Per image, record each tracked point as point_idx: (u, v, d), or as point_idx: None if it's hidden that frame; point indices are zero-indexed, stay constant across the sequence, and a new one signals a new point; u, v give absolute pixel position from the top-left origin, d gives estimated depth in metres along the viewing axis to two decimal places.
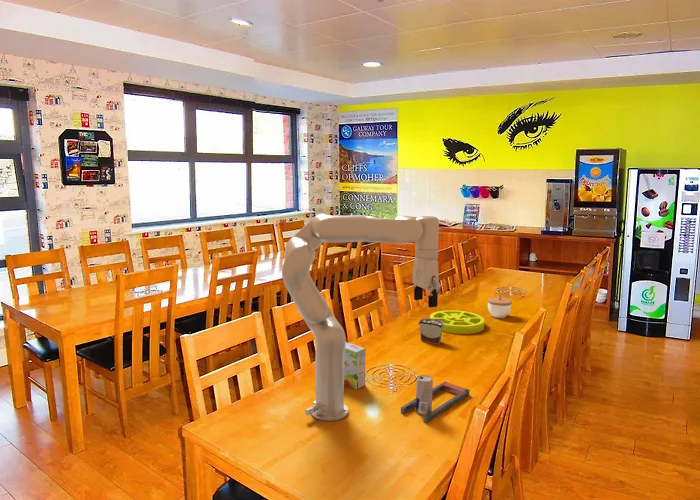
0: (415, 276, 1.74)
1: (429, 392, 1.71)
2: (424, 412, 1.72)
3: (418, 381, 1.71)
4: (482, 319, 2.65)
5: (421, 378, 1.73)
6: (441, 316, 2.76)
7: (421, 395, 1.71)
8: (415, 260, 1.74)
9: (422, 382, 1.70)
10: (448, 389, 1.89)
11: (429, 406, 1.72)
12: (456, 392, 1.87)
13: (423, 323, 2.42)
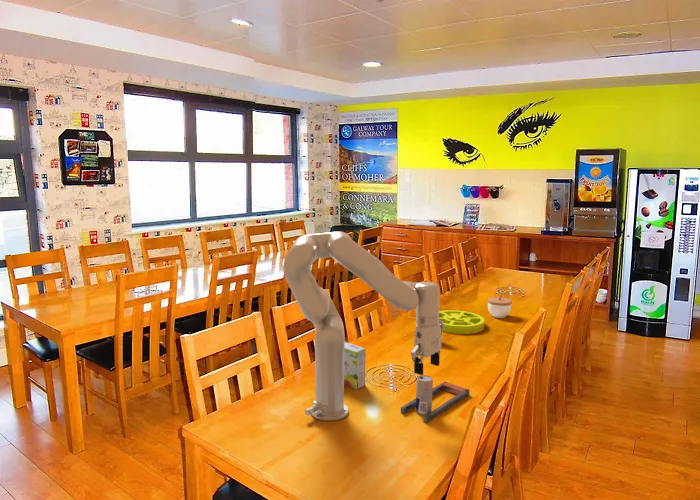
0: (430, 347, 1.67)
1: (429, 392, 1.71)
2: (424, 412, 1.72)
3: (418, 381, 1.71)
4: (482, 319, 2.65)
5: (421, 378, 1.73)
6: (441, 316, 2.76)
7: (421, 395, 1.71)
8: (429, 331, 1.66)
9: (422, 382, 1.70)
10: (448, 389, 1.89)
11: (429, 406, 1.72)
12: (456, 392, 1.87)
13: None
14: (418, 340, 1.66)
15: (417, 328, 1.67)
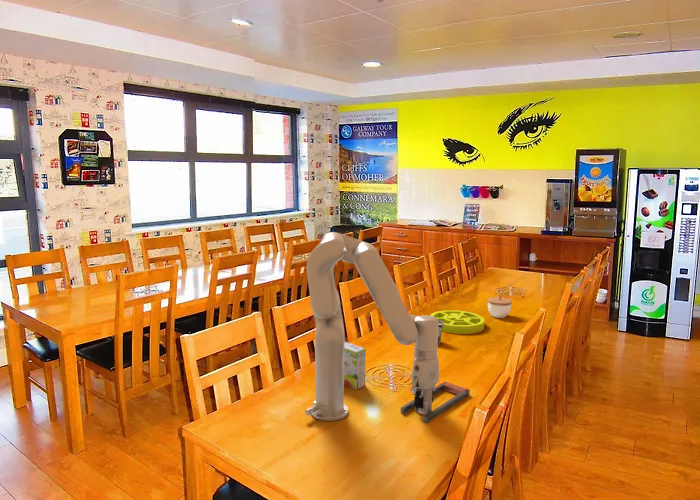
0: (428, 380, 1.69)
1: (429, 392, 1.71)
2: (424, 412, 1.72)
3: None
4: (482, 319, 2.65)
5: None
6: (441, 316, 2.76)
7: None
8: (427, 365, 1.67)
9: None
10: (448, 389, 1.89)
11: (429, 406, 1.72)
12: (456, 392, 1.87)
13: None
14: (416, 373, 1.68)
15: (415, 361, 1.69)
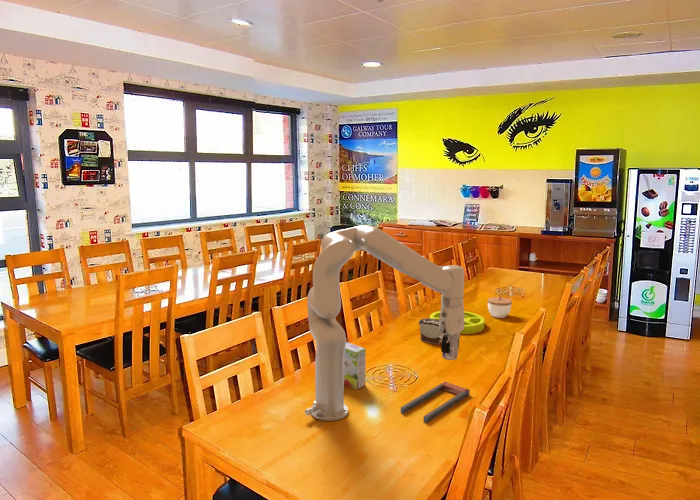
0: (454, 326, 1.78)
1: (455, 338, 1.80)
2: (451, 357, 1.81)
3: None
4: (482, 319, 2.65)
5: None
6: None
7: None
8: (453, 311, 1.76)
9: None
10: (448, 389, 1.89)
11: (455, 351, 1.81)
12: (456, 392, 1.87)
13: (423, 323, 2.42)
14: (443, 319, 1.77)
15: (442, 308, 1.78)
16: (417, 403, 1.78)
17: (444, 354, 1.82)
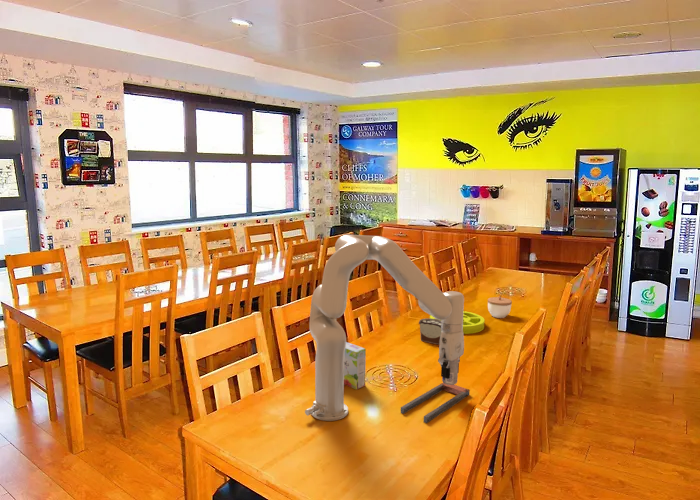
0: (454, 352, 1.80)
1: (455, 363, 1.82)
2: (450, 382, 1.83)
3: None
4: (482, 319, 2.65)
5: None
6: None
7: None
8: (453, 337, 1.79)
9: None
10: (448, 389, 1.89)
11: (455, 376, 1.83)
12: (456, 392, 1.87)
13: (423, 323, 2.42)
14: (443, 345, 1.79)
15: (442, 334, 1.80)
16: (417, 403, 1.78)
17: (444, 379, 1.84)
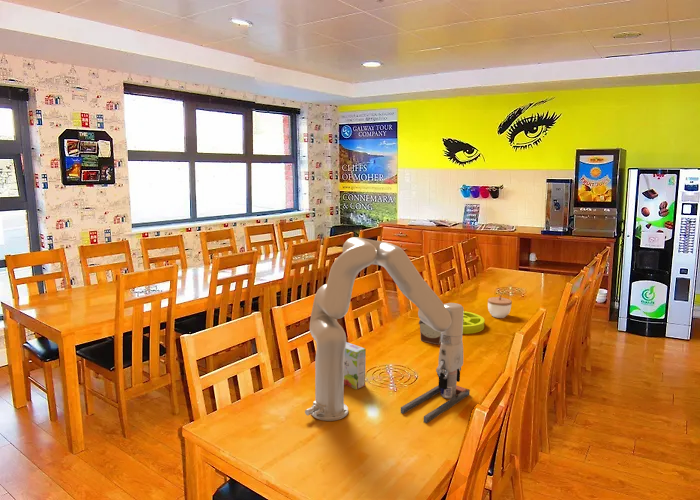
0: (453, 363, 1.81)
1: (454, 377, 1.83)
2: (449, 396, 1.84)
3: None
4: (482, 319, 2.65)
5: None
6: None
7: (447, 380, 1.83)
8: (453, 349, 1.79)
9: None
10: None
11: (454, 390, 1.84)
12: (456, 392, 1.87)
13: (423, 323, 2.42)
14: (442, 357, 1.80)
15: (442, 346, 1.80)
16: (417, 403, 1.78)
17: (443, 393, 1.85)
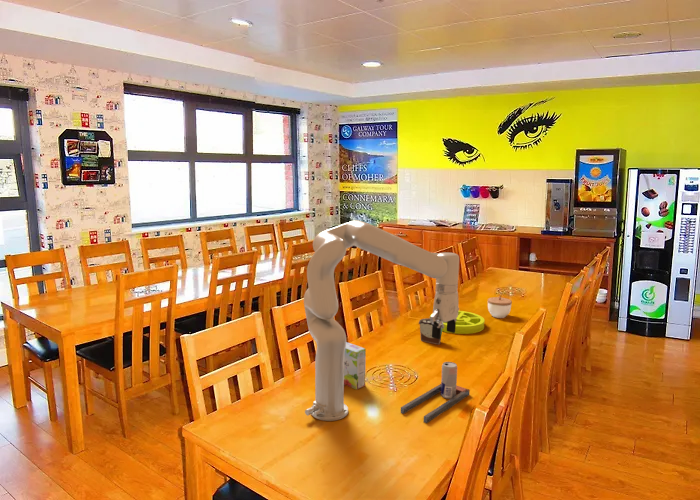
0: (448, 313, 1.78)
1: (454, 377, 1.83)
2: (449, 396, 1.84)
3: (443, 367, 1.83)
4: (482, 319, 2.65)
5: (446, 364, 1.85)
6: None
7: (447, 380, 1.83)
8: (448, 298, 1.77)
9: (447, 368, 1.82)
10: None
11: (454, 390, 1.84)
12: (456, 392, 1.87)
13: (423, 323, 2.42)
14: (437, 306, 1.77)
15: (436, 295, 1.78)
16: (417, 403, 1.78)
17: (443, 393, 1.85)
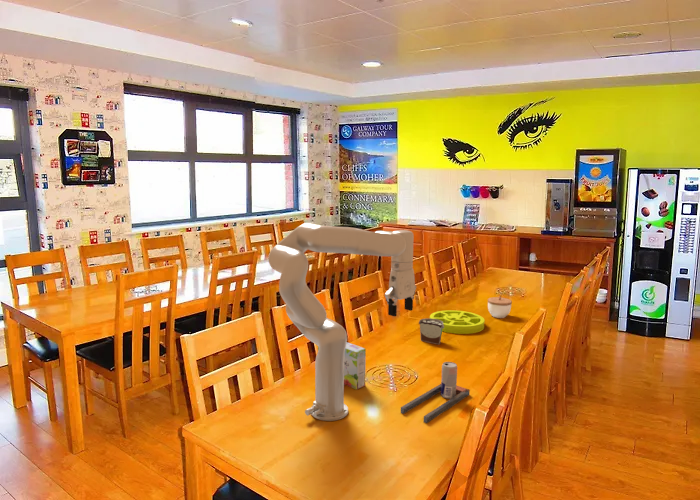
0: (403, 290, 1.78)
1: (454, 377, 1.83)
2: (449, 396, 1.84)
3: (444, 367, 1.83)
4: (482, 319, 2.65)
5: (446, 364, 1.85)
6: (441, 316, 2.76)
7: (447, 380, 1.83)
8: (402, 275, 1.77)
9: (447, 368, 1.82)
10: None
11: (454, 390, 1.84)
12: (456, 392, 1.87)
13: (423, 323, 2.42)
14: (392, 283, 1.78)
15: (392, 272, 1.78)
16: (417, 403, 1.78)
17: (443, 393, 1.85)
